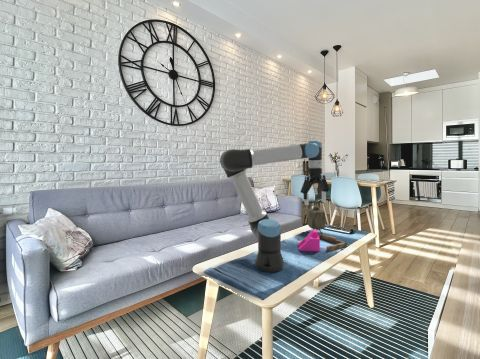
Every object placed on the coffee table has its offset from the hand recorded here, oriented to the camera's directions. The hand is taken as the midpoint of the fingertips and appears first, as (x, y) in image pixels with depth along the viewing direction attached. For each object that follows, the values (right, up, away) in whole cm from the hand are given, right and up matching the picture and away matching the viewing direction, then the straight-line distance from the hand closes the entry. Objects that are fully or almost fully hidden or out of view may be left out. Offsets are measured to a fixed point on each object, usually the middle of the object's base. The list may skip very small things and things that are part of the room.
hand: (315, 203), depth 146 cm
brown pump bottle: (+12, -26, +40) cm, 49 cm away
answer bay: (+11, -28, +16) cm, 34 cm away
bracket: (-2, -29, +9) cm, 30 cm away
